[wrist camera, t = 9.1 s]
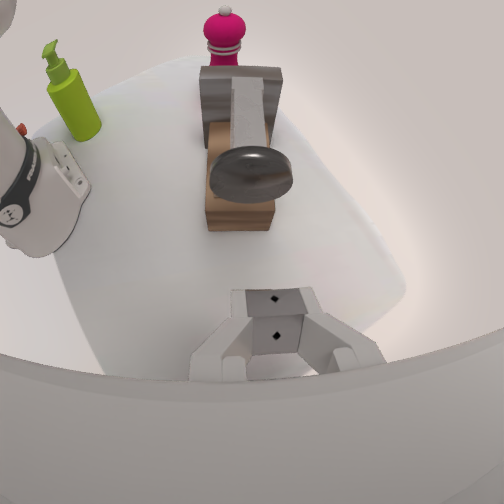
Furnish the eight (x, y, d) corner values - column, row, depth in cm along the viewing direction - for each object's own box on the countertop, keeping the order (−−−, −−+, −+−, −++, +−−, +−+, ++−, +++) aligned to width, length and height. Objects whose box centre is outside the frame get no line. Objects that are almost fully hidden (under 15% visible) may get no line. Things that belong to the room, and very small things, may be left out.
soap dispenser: (100, 111, 44) (67, 31, 25) (102, 133, 42) (63, 47, 23) (74, 123, 42) (35, 48, 24) (74, 146, 41) (27, 66, 22)
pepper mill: (235, 87, 47) (241, -4, 28) (249, 110, 45) (260, 11, 26) (198, 95, 46) (192, 2, 27) (210, 120, 44) (206, 17, 25)
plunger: (281, 262, 34) (340, 164, 15) (214, 263, 33) (197, 160, 14) (274, 182, 37) (308, 58, 18) (215, 182, 36) (209, 53, 17)
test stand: (275, 230, 38) (298, 172, 25) (201, 231, 37) (187, 172, 24) (267, 134, 43) (280, 67, 30) (206, 134, 43) (201, 66, 29)
